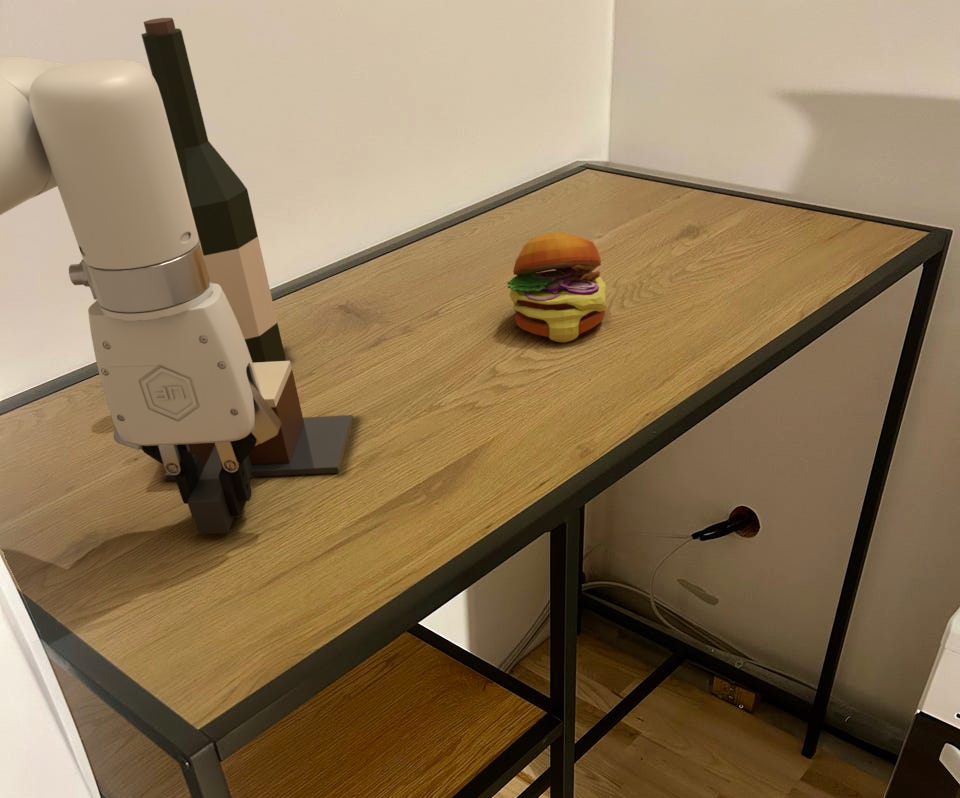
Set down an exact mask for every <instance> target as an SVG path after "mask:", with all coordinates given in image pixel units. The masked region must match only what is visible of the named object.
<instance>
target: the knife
mask: <svg viewBox="0 0 960 798" xmlns="http://www.w3.org/2000/svg"><path fill="white" fill-rule="evenodd" d="M244 464H245V468H246V471H247V475H248V479H249V480H250V479H251V478H252V477H251V474H252V472H253V469H252V466H251V462H250V458H249V455H248V456H247V457H246V458H245V460H244ZM221 469H222V466H221V460H220V457H219V454H218V451H217V448H216V446H214V448H213V450H212V452H211V455H210V457H209V459H208V461H207V463H206V465H205V467H204V469H203V472H202V474H201V476H200V478H199V480H198V482H197V484H196V486H195V488H194V491H193V492H192V494H191V496H190V498H189V500H188V504H189V506H188V508H189V507H190V509H189V511H190V510H191V512H190V514H191V513H192V515H191V517H192V516H193V517H192V520H193V522H194V525H195V528H196V531H197V533H198V534H199V535H203V534H205V535H207V534H228V533H229V531H230V530H231V529H230V528H231V526H232V525H233V522H234V519H235V517H233V516H232V515H231V514H230V511H229V507H228V504H227V501H226V497H225V494H224V491H223V490H222V486H221V483H220V480H219V473H220V471H221ZM188 504H187V505H188Z"/></svg>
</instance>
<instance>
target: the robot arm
mask: <svg viewBox="0 0 960 798" xmlns="http://www.w3.org/2000/svg"><path fill="white" fill-rule="evenodd" d="M54 188H57V189H58V192H59V195H60V198H61V200H62V203H63V206H64V209H65V212H66V215H67V218H68V221H69V224H70V226H71V229H72V232H73V235H74V237H75V240H76V243H77V246H78V249H79V252H80V254H81V257H82V259H81V261H80V262H79V263H74V264H69V266H68V276H69V279H70V282H71V283H72V285H74V286H84V287H86V288H87V287H89V289H90V292H91V294H92V297H93V300H95V301H94V302H93V303H92V304H91V305H90V306H89V307H88V309H87V311H88V313H87V314H88V323H89V328H90V330H89V331H90V336H91V340H92V347H93V352H94V356H95V357H94V358H95V362H96V366H97V371H98V374H99V379H100V382H101V386H102V390H103V393H104V397H105V400H106V404H107V407H108V410H109V414H110V416H111V419H112V422H113V425H114V430H113V440H114V441H115V442H116V443H117V444H119V445H122V446H125V447H129V448H130V449H131V448H132V449H134V450H137V451H140V450H141V451H142V452H143V453H144V454H145V455H147V456H149V457H150V458H152V459H153V460H155V461H157V462H158V463H160V464H161V465H162V466H163V467H164V469H165V473H166V472H167V473H169V474H171V475H174V476H175V479H176V481H175V483H176V485H177V488H178V491H179V494H180V497H181V500H182V502H183V504H184V505H188V506H187V507H188V509H189V511H190V514H191V517H192V518H193V516H192V513H191V510H190V507H189V504H188V500H189V498H190V496H191V494H192V492H193V491H194V488H195V486H196V484H197V482H198V480H199V478H200V476H201V474H202V472H203V468H202V465H201V462H200V459H199V458H197V455H192V454H191V453H190V449H189V445H188V444H199V443H215V446H216V448H217V451H218V454H219V457H220V460H221V466H222V469H221V471H220V473H219V480H220V483H221V486H222V490H223V491H224V494H225V497H226V501H227V504H228V507H229V511H230V514H231V515H232V516H233V517H234V518H239V517H242V514H243V511H244V508H245V506H246V504H247V502H249V501H250V500H251V497H252V485H251V483H250V479H248V475H247V471H246V468H245V464H244V460H245V458H246V457H247V456H248V455H249V453H250V452H251V451H252V450H253V448H254V447H255V446H256V445H258V444H261V443H263V442H265V441H267V440H269V439H271V438H273V437H275V436H276V435H277V434H278V432H279V429H280V427H281V421H280V419H279V418H278V416H277V415H276V414H275V413H274V411H273V410H272V409H271V407H270V406H269V405H268V403H267V402H266V401H265V400H264V398H263V397H262V396H261V391H260V386H259V382H258V379H257V375H256V372H255V369H254V366H253V363H252V359H251V356H250V354H249V351H248V348H247V345H246V342H245V339H244V337H243V334H242V332H241V329H240V326H239V324H238V322H237V319H236V317H235V315H234V313H233V310H232V308H231V306H230V304H229V302H228V300H227V298H226V296H225V294H224V292H223V290H222V288H221V287H220V285H219V284H216V283H211V281H210V278H209V274H208V270H207V267H206V263H205V259H204V255H203V252H202V248H201V244H200V240H199V237H198V233H197V229H196V225H195V221H194V217H193V214H192V210H191V206H190V202H189V198H188V195H187V191H186V187H185V183H184V179H183V176H182V172H181V168H180V164H179V161H178V157H177V153H176V149H175V146H174V142H173V138H172V134H171V130H170V127H169V123H168V119H167V115H166V112H165V108H164V104H163V100H162V97H161V94H160V91H159V88H158V85H157V83H156V81H155V79H154V77H153V76H152V72H151V71H150V70H149V69H148V68H147V67H146V66H145V65H142V64H141V63H139V62H137V61H134V60H129V59H126V58H125V59H123V58H105V59H103V58H102V59H91V60H84V61H78V62H74V63H65V62H64V63H63V62H56V61H51V60H45V59H40V58H34V57H27V56H16V55H12V56H11V55H6V56H0V216H2V215H3V214H6V213H7V212H9V211H11V210H12V209H15V208H16V207H18V206H20V205H21V204H23V203H25V202H26V201H28V200H30V199H34V198H36V197H38V196H40V195H42V194H44V193H46V192H48V191H51V190H52V189H54Z"/></svg>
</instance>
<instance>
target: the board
mask: <svg viewBox="0 0 960 798" xmlns="http://www.w3.org/2000/svg"><path fill="white" fill-rule="evenodd" d="M303 420H304V424H303V426H302V429H301V432H300V435H299V438H298V440H297V443H296V446H295V449H294V451H293V454H292V457H291V460H290V463H277V464H256V465H251V466H252V469H253V472H252V474H251V477H250V478H262V477H280V476H281V477H283V476H304V475H306V476H307V475H325V474H328V475H329V474H339V473H340V470H341V467H342V462H343V460H344V455H345V452H346V449H347V445H348V442H349V438H350V435H351V431H352V428H353V424H354V420H355V419H354V416H353V414H345V415H344V414H343V415H327V416H324V415H323V416H307V417H305V416H303ZM202 468H203V469H204V467H202ZM164 478H165V481H166V482H176V479H175V476H174V475H171V474H169V473H167V472H166V471H165V474H164Z"/></svg>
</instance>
